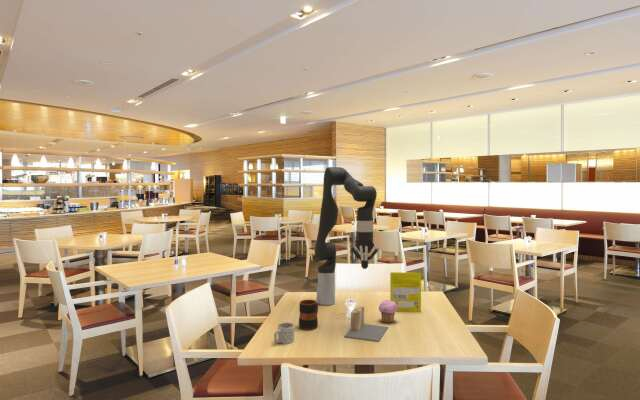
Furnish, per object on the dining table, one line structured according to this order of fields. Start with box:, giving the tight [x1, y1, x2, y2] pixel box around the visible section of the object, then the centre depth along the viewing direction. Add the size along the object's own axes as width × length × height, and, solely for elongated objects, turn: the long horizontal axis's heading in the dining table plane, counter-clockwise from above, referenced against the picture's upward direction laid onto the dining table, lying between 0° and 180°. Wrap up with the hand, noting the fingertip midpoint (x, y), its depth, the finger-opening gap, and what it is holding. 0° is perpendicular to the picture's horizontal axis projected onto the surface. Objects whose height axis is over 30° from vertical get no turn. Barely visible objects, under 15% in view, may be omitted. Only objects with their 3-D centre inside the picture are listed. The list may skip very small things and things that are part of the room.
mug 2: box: [298, 299, 319, 331], centre depth 198 cm, size 9×12×12 cm
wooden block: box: [350, 305, 365, 331], centre depth 195 cm, size 3×8×10 cm
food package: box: [389, 271, 422, 313], centre depth 219 cm, size 15×1×20 cm, turn 84°
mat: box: [343, 323, 389, 343], centre depth 190 cm, size 15×18×1 cm
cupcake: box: [378, 299, 398, 323], centre depth 204 cm, size 9×9×10 cm
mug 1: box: [273, 322, 295, 345], centre depth 179 cm, size 10×7×7 cm
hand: (364, 268), depth 195 cm, fingers closed
